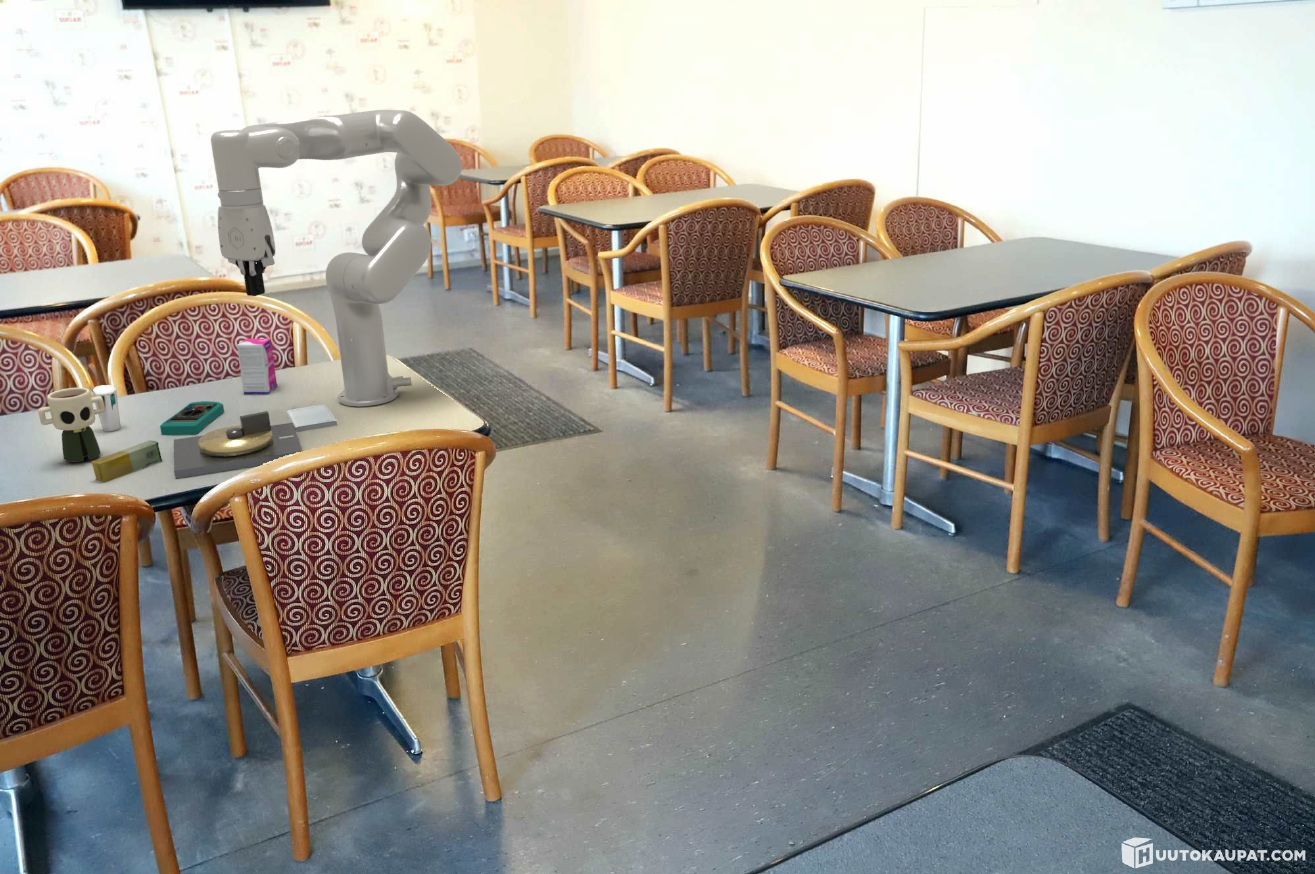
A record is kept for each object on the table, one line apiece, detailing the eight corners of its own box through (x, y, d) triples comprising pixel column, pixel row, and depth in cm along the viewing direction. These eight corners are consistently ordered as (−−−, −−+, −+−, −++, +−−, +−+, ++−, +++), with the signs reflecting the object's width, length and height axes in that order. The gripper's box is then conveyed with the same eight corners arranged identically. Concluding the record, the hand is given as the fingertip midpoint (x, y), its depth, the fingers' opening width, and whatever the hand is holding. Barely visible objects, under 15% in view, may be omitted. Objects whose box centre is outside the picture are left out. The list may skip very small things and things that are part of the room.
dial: (281, 445, 199) (277, 420, 197) (209, 461, 192) (204, 435, 190) (261, 427, 209) (257, 403, 207) (192, 441, 202) (187, 417, 200)
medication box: (154, 459, 199) (150, 439, 198) (163, 461, 198) (159, 441, 197) (95, 481, 190) (90, 460, 188) (104, 483, 188) (99, 462, 187)
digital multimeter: (226, 412, 225) (224, 399, 224) (197, 437, 211) (194, 423, 210) (192, 413, 226) (189, 400, 225) (160, 437, 212) (157, 423, 211)
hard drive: (337, 420, 215) (325, 403, 225) (295, 427, 211) (285, 409, 222) (338, 428, 215) (326, 410, 226) (296, 435, 212) (286, 417, 222)
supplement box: (269, 394, 236) (261, 344, 232) (243, 394, 236) (235, 345, 232) (278, 386, 241) (271, 337, 237) (252, 387, 241) (245, 338, 237)
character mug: (55, 471, 194) (39, 403, 190) (46, 461, 199) (30, 395, 195) (119, 456, 201) (105, 390, 196) (108, 446, 206) (95, 382, 201)
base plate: (293, 429, 213) (292, 421, 212) (303, 458, 197) (302, 450, 197) (175, 446, 205) (173, 438, 204) (175, 478, 189) (173, 469, 189)
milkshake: (91, 433, 214) (80, 385, 210) (112, 424, 218) (102, 378, 215) (108, 435, 212) (98, 387, 209) (129, 426, 217) (119, 379, 213)
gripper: (196, 199, 199) (212, 295, 206) (256, 202, 194) (271, 301, 200) (226, 194, 206) (241, 288, 212) (286, 197, 200) (299, 293, 206)
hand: (256, 294), depth 206 cm, fingers closed
